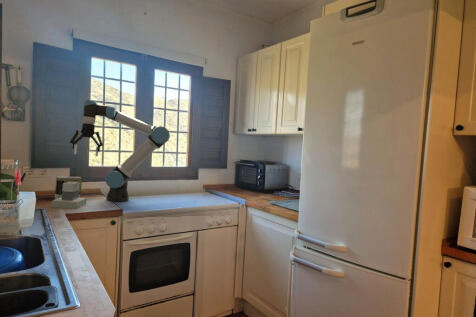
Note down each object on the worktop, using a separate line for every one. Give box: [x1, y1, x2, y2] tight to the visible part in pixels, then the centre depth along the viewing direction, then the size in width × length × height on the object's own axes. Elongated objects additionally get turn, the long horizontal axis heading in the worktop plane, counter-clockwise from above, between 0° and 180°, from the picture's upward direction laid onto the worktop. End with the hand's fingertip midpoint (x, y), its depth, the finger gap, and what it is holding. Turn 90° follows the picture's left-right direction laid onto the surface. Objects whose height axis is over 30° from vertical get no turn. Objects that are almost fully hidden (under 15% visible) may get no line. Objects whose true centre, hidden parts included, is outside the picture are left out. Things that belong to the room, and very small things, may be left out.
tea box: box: [54, 176, 83, 200], centre depth 205 cm, size 15×10×15 cm, turn 123°
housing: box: [62, 182, 80, 201], centre depth 184 cm, size 12×6×10 cm, turn 9°
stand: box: [50, 197, 87, 210], centre depth 183 cm, size 14×16×4 cm
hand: (85, 155), depth 201 cm, fingers open, 13 cm apart
